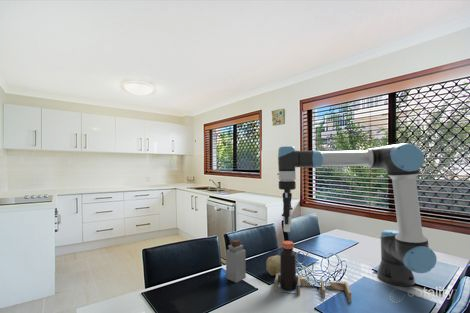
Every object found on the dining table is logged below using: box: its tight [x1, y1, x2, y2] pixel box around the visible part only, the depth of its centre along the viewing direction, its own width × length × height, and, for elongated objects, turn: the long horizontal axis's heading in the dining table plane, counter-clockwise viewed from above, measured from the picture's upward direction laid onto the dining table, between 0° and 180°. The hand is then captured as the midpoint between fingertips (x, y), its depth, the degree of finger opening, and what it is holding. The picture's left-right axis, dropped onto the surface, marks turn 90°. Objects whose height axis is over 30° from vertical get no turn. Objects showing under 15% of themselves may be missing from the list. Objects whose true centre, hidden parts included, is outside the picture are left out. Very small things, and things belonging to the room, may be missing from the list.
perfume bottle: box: [225, 239, 247, 284], centre depth 120 cm, size 7×7×18 cm
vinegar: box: [279, 240, 297, 291], centre depth 111 cm, size 7×7×20 cm
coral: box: [265, 254, 281, 277], centre depth 124 cm, size 10×10×10 cm
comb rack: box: [273, 273, 352, 303], centre depth 108 cm, size 31×10×4 cm, turn 75°
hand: (287, 227), depth 111 cm, fingers open, 13 cm apart
